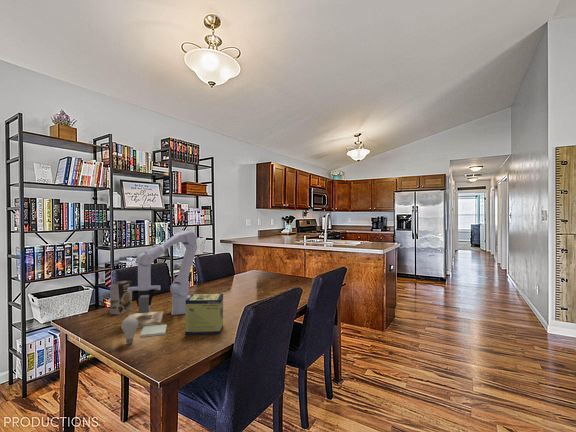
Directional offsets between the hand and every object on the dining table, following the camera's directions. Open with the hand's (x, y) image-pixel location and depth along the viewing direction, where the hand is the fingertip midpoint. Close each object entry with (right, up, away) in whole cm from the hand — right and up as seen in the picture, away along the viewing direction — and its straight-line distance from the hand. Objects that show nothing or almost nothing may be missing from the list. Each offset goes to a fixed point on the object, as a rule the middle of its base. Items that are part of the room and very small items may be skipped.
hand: (144, 305), depth 150 cm
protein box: (+33, -9, -11) cm, 35 cm away
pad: (+10, -8, -12) cm, 18 cm away
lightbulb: (+6, -9, -25) cm, 27 cm away
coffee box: (-19, -8, +15) cm, 26 cm away
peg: (0, -3, 0) cm, 3 cm away
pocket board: (0, -8, 0) cm, 8 cm away
